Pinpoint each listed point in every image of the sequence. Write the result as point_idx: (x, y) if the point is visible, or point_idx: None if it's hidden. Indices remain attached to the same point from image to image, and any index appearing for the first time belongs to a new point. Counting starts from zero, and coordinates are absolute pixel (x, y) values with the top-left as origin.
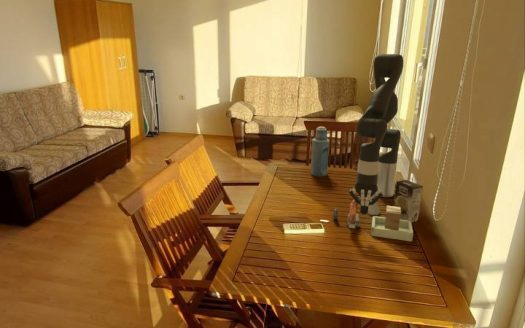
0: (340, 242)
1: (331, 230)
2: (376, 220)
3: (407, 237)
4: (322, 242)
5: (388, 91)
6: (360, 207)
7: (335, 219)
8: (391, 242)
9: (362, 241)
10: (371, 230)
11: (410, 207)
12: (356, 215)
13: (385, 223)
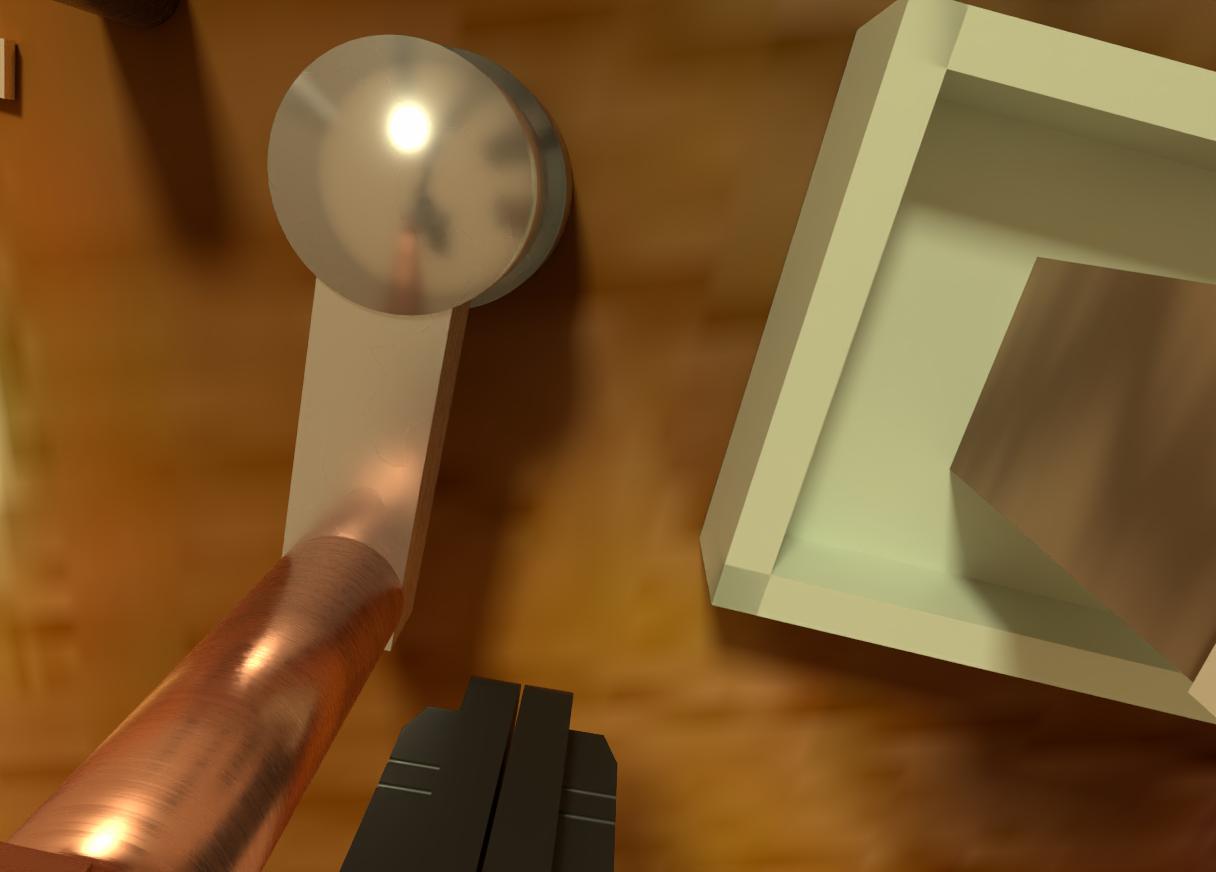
0: None
1: (103, 416)
2: (952, 86)
3: None
4: (25, 757)
5: None
6: (371, 800)
7: (110, 16)
8: (932, 708)
9: None
10: (731, 466)
11: None
12: (463, 210)
13: (1027, 505)
